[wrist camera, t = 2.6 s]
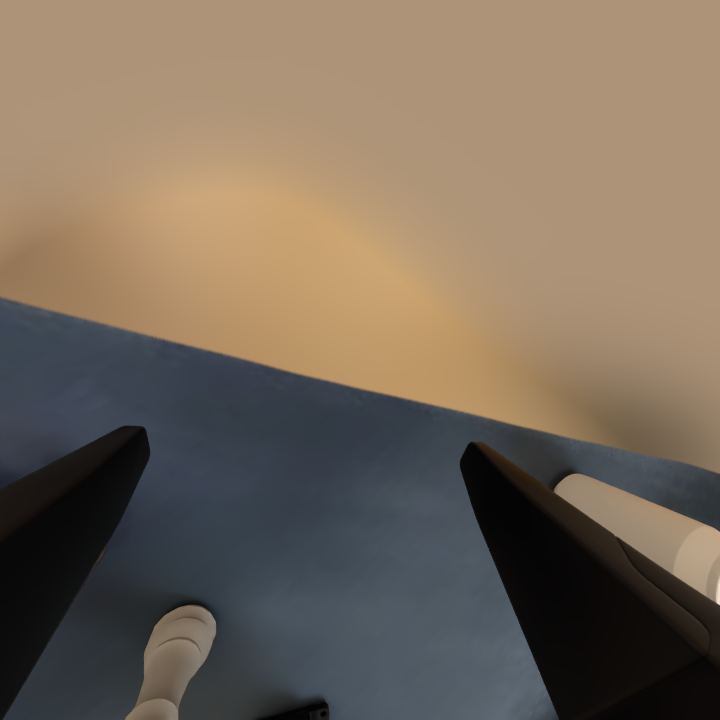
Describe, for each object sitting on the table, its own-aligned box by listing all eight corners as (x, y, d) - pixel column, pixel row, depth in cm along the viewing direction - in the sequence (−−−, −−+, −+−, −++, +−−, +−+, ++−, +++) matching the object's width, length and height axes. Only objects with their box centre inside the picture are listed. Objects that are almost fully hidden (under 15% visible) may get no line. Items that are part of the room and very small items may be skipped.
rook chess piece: (160, 668, 21) (82, 859, 13) (146, 614, 20) (57, 776, 13) (223, 642, 22) (186, 802, 14) (211, 590, 21) (166, 726, 14)
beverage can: (538, 485, 29) (702, 572, 18) (580, 460, 31) (757, 526, 19) (553, 535, 30) (720, 651, 18) (593, 508, 31) (772, 600, 20)
